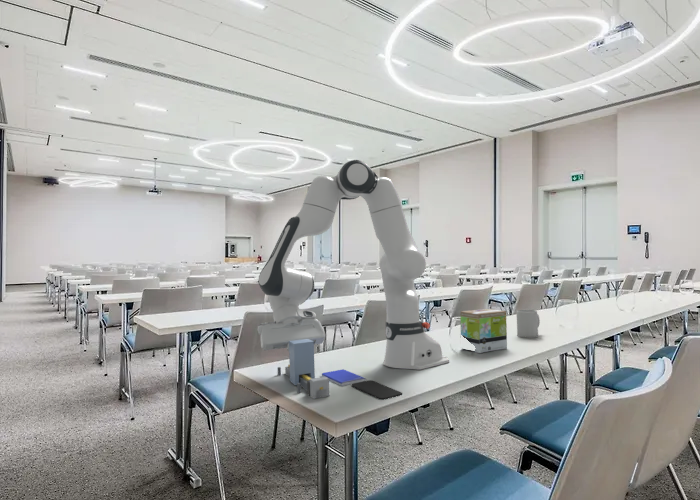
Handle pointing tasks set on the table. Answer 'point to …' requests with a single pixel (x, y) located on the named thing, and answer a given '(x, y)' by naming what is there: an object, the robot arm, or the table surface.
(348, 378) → the hard drive
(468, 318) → the tea box
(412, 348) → the robot arm
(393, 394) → the phone
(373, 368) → the table surface
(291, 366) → the pale blue block
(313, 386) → the cord rail
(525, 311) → the mug
